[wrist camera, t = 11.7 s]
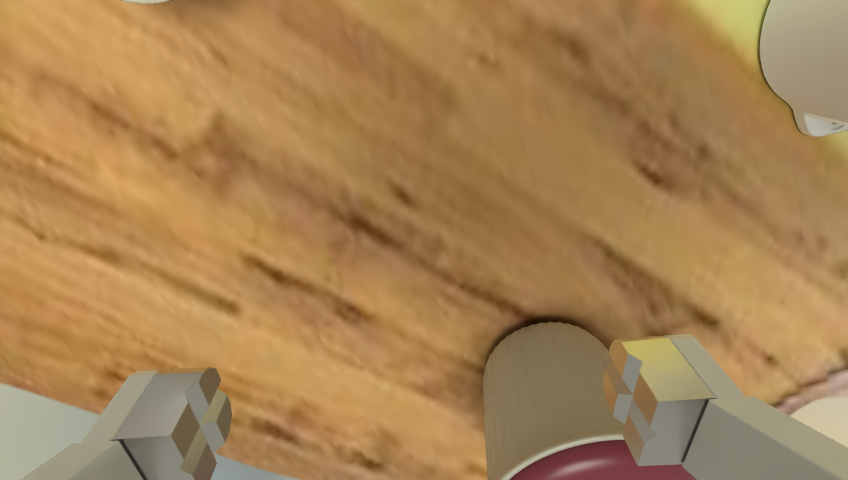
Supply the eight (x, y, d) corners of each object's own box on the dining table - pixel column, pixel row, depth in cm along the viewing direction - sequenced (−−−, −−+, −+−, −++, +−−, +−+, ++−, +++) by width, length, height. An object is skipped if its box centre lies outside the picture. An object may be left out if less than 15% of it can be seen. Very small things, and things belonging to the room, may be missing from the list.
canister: (615, 401, 54) (724, 613, 35) (469, 421, 54) (502, 639, 36) (626, 282, 45) (780, 485, 26) (451, 308, 45) (483, 523, 27)
